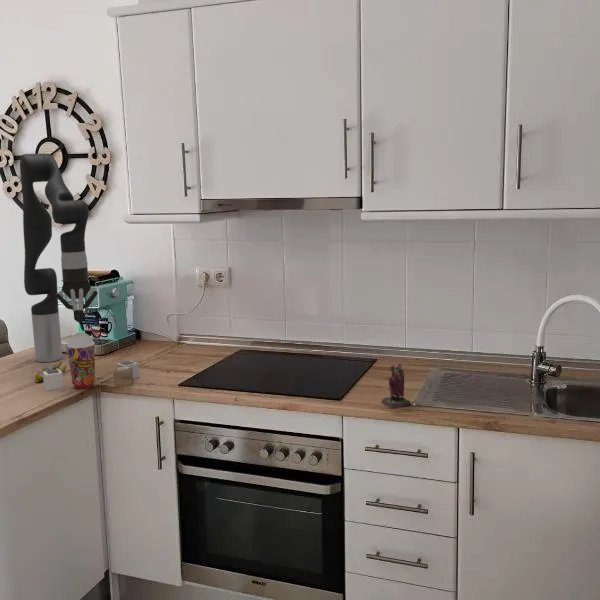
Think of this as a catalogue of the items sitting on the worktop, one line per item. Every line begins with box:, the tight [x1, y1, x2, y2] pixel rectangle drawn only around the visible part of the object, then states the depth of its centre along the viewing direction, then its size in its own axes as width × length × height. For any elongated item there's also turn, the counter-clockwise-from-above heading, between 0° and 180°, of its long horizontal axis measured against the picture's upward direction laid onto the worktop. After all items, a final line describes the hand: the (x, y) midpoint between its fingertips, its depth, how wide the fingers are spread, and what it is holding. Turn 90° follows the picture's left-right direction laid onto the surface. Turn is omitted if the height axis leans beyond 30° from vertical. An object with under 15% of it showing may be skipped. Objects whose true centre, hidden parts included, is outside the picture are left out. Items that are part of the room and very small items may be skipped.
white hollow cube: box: [43, 368, 64, 392], centre depth 220 cm, size 5×5×5 cm
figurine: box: [381, 363, 412, 410], centre depth 195 cm, size 6×6×12 cm
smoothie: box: [66, 323, 96, 390], centre depth 219 cm, size 8×8×20 cm
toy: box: [34, 361, 68, 384], centre depth 232 cm, size 5×5×15 cm
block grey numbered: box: [115, 360, 140, 380], centre depth 228 cm, size 5×5×5 cm
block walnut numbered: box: [113, 367, 134, 388], centre depth 221 cm, size 5×5×5 cm
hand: (79, 321), depth 217 cm, fingers closed
